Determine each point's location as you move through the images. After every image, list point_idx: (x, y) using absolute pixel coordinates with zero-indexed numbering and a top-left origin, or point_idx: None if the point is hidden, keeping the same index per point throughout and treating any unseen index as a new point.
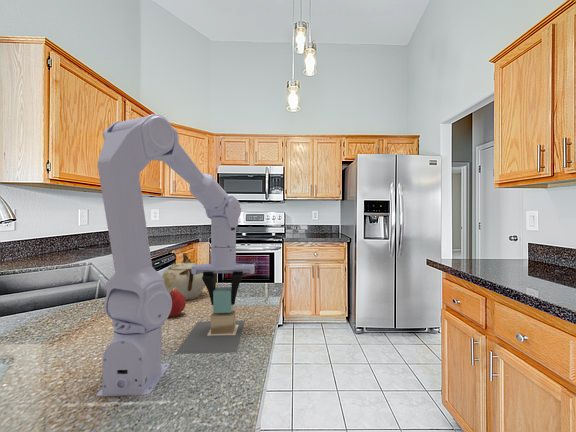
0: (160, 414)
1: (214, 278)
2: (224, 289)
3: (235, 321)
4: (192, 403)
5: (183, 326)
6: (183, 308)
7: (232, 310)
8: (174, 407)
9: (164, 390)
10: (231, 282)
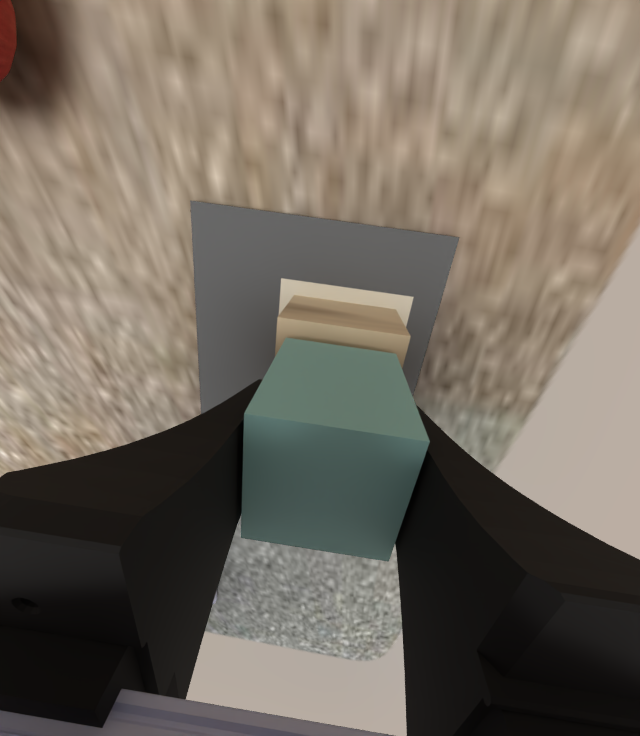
0: (251, 626)
1: (187, 587)
2: (333, 510)
3: (403, 239)
4: (292, 620)
5: (135, 232)
6: (7, 26)
7: (389, 351)
8: (267, 620)
9: (236, 587)
10: (405, 664)
